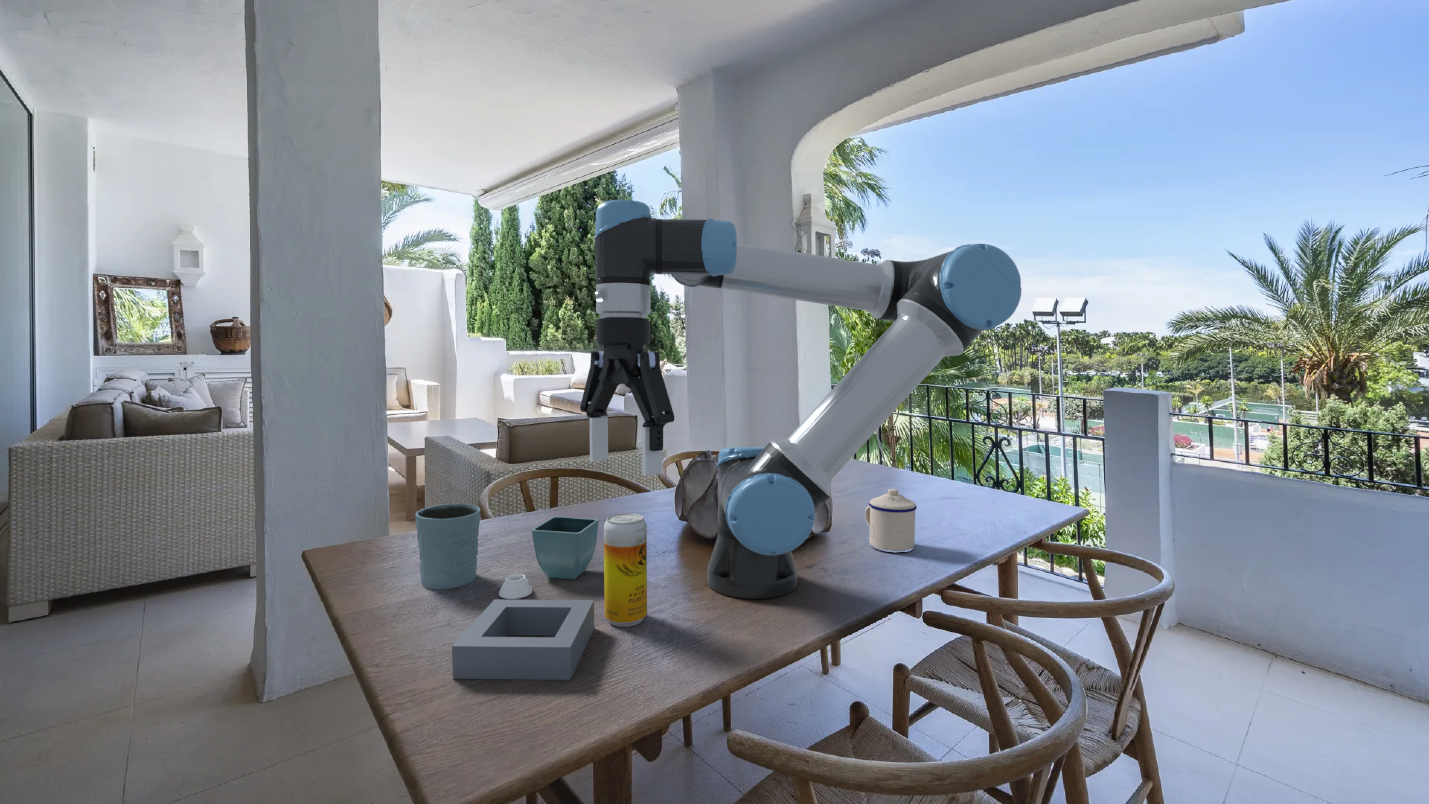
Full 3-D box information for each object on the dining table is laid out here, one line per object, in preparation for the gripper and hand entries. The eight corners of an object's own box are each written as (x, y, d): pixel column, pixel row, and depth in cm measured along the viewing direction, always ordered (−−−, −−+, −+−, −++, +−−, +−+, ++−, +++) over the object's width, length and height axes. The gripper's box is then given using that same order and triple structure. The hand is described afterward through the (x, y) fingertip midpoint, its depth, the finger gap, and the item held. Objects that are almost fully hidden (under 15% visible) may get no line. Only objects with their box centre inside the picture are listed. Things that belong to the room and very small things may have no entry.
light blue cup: (425, 571, 111) (423, 504, 110) (486, 567, 113) (484, 501, 112) (410, 593, 101) (408, 519, 100) (477, 588, 103) (475, 516, 102)
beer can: (637, 630, 88) (636, 525, 87) (597, 625, 90) (596, 521, 88) (653, 613, 94) (652, 514, 92) (615, 608, 95) (614, 511, 94)
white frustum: (525, 587, 104) (495, 593, 101) (525, 569, 104) (494, 575, 101) (536, 596, 100) (505, 604, 97) (536, 578, 100) (504, 585, 97)
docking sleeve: (594, 627, 89) (594, 600, 88) (570, 679, 75) (570, 647, 74) (495, 627, 89) (494, 599, 89) (452, 678, 75) (451, 646, 75)
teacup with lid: (925, 550, 124) (927, 491, 123) (890, 557, 120) (892, 496, 119) (882, 534, 134) (883, 480, 133) (848, 540, 130) (850, 484, 129)
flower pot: (580, 585, 105) (579, 532, 104) (531, 581, 106) (530, 529, 106) (600, 568, 113) (599, 518, 112) (554, 564, 115) (553, 516, 114)
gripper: (556, 318, 95) (558, 458, 97) (653, 311, 76) (654, 485, 78) (599, 320, 100) (600, 453, 102) (701, 314, 81) (700, 477, 83)
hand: (624, 467), depth 90 cm, fingers open, 13 cm apart
